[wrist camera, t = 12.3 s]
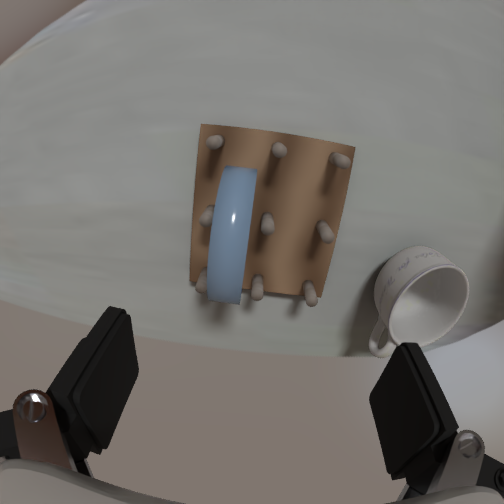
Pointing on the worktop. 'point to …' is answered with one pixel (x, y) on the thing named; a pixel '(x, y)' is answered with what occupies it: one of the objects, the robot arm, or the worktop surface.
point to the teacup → (417, 298)
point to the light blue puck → (230, 234)
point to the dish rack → (275, 206)
